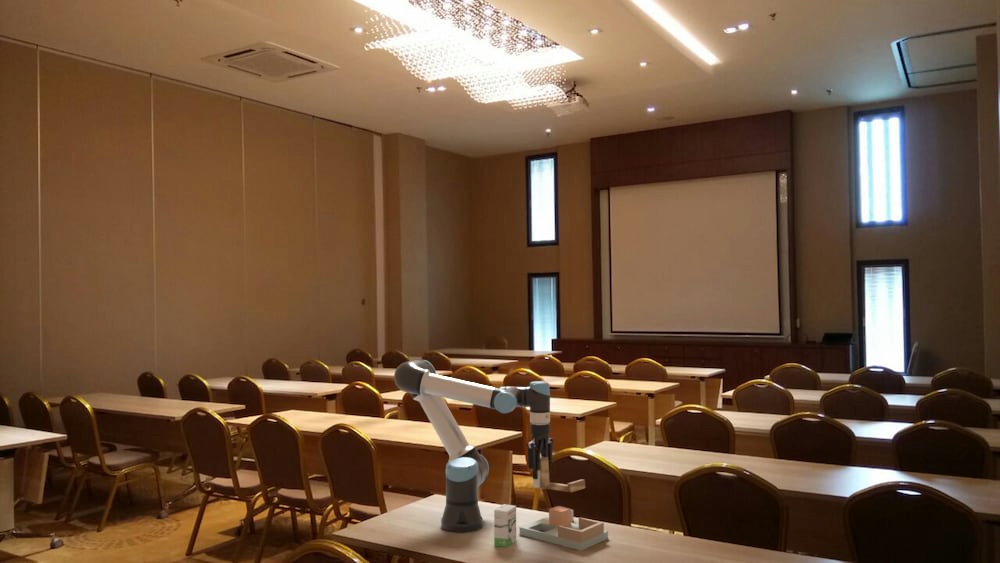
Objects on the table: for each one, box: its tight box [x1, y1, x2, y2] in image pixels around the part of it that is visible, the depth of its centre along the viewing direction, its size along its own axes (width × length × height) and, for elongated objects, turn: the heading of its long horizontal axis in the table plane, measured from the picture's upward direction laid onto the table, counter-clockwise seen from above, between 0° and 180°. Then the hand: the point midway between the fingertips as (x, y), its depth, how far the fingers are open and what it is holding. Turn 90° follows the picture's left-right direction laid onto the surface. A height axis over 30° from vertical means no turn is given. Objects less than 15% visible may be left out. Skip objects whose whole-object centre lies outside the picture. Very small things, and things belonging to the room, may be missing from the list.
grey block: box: [571, 509, 574, 523], centre depth 269 cm, size 4×4×4 cm
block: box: [548, 505, 572, 527], centre depth 256 cm, size 6×6×6 cm
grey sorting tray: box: [519, 516, 609, 552], centre depth 250 cm, size 26×16×6 cm, turn 49°
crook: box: [533, 455, 586, 493], centre depth 268 cm, size 18×9×11 cm, turn 46°
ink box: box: [493, 503, 517, 548], centre depth 244 cm, size 9×5×12 cm, turn 157°
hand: (540, 486), depth 270 cm, fingers closed on crook, 4 cm apart
